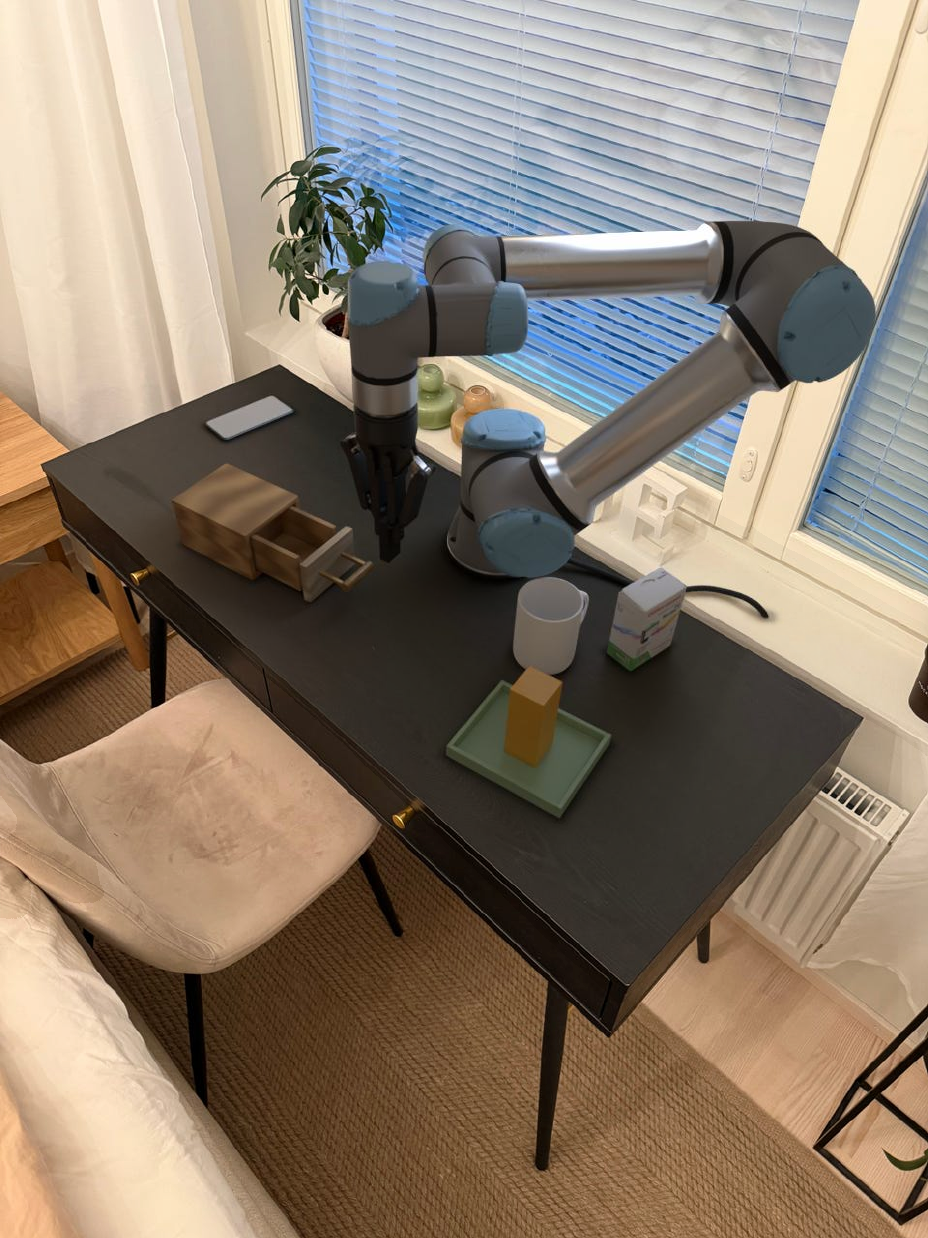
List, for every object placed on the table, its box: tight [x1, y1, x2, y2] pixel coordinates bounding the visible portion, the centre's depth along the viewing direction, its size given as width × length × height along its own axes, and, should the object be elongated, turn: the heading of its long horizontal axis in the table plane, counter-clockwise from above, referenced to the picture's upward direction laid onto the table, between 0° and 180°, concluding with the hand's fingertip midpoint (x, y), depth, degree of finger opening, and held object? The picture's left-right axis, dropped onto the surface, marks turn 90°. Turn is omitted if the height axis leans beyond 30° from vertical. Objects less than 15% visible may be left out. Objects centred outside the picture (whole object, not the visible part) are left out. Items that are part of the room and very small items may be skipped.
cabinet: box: [171, 462, 301, 581], centre depth 136 cm, size 15×12×9 cm
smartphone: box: [204, 395, 295, 441], centre depth 164 cm, size 7×1×15 cm
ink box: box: [606, 567, 688, 672], centre depth 121 cm, size 8×5×12 cm, turn 129°
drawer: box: [249, 505, 375, 603], centre depth 131 cm, size 19×10×7 cm, turn 57°
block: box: [504, 666, 563, 768], centre depth 108 cm, size 4×4×12 cm
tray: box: [445, 679, 612, 819], centre depth 112 cm, size 16×13×2 cm
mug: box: [512, 576, 590, 676], centre depth 121 cm, size 9×12×11 cm
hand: (390, 555), depth 120 cm, fingers closed
